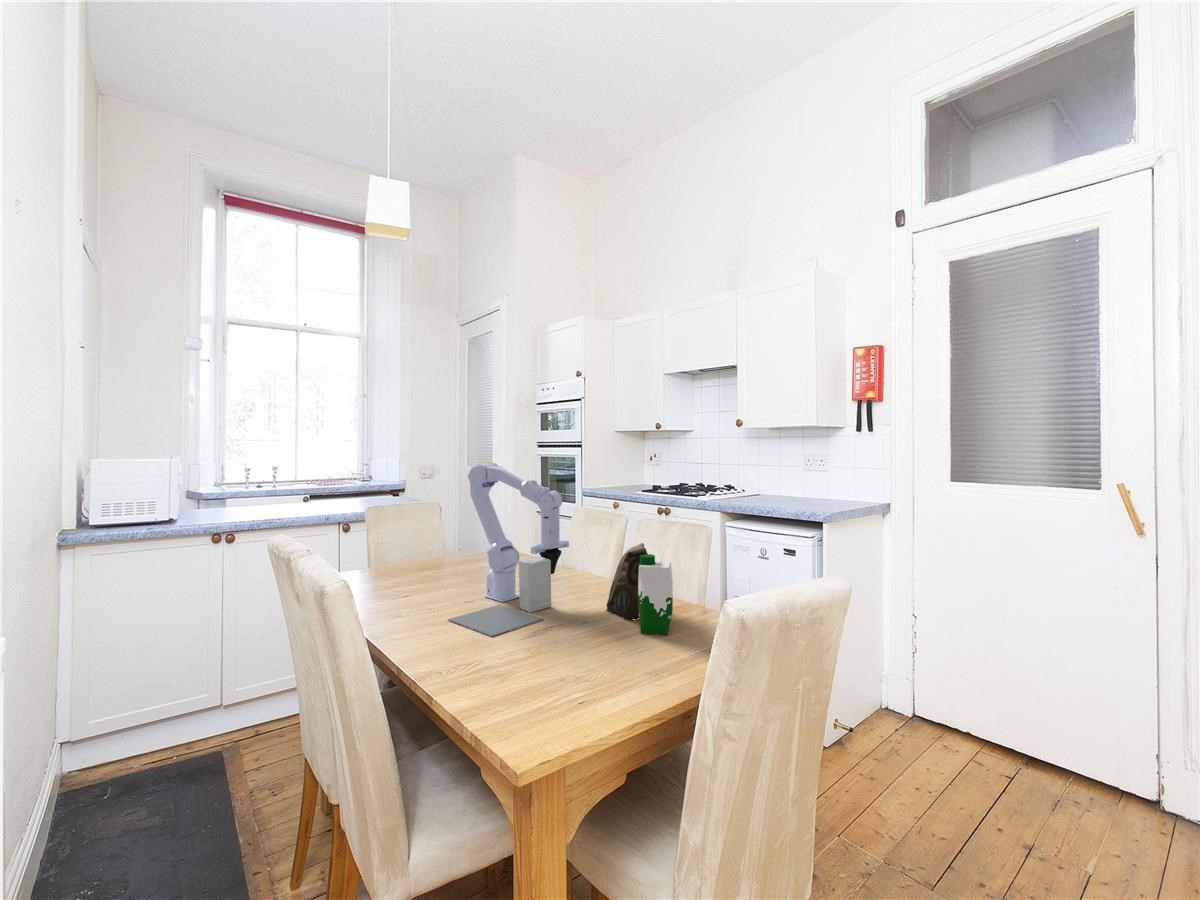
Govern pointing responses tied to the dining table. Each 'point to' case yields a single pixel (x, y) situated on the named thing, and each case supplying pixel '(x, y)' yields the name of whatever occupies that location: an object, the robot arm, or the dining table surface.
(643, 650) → the dining table surface
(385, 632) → the dining table surface
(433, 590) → the dining table surface
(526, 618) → the mat
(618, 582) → the owl
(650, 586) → the milk carton
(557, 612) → the dining table surface
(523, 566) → the skincare box
